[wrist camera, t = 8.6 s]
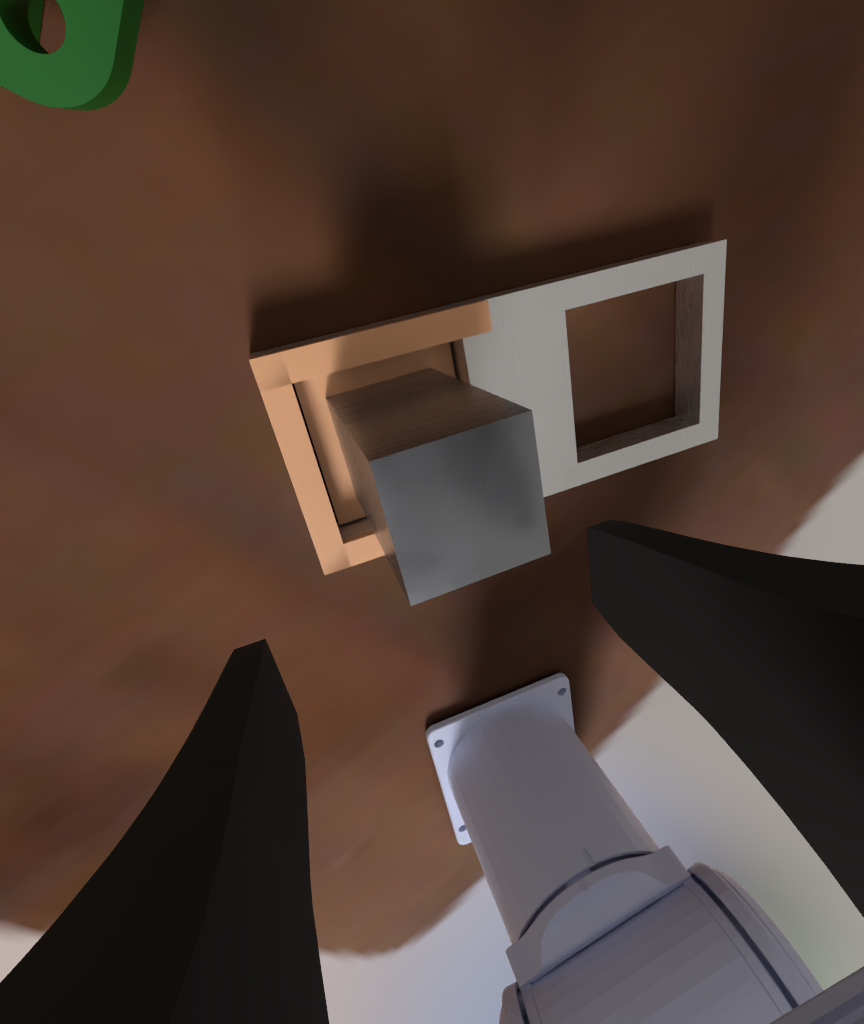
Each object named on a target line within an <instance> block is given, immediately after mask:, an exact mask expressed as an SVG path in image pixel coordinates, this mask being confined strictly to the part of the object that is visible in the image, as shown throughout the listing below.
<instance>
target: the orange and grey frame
mask: <svg viewBox="0 0 864 1024" xmlns="http://www.w3.org/2000/svg"><path fill="white" fill-rule="evenodd" d="M726 246H727V239H725V240H716V241H707V242H699V243H694V244H690V245H686V246H682V247H678V248H674V249H670V250H666V251H662V252H658V253H653V254H649V255H645V256H641V257H637V258H633V259H629V260H625V261H621V262H617V263H613V264H609V265H605V266H601V267H597V268H593V269H589V270H585V271H581V272H577V273H573V274H569V275H565V276H561V277H557V278H553V279H549V280H545V281H541V282H537V283H533V284H529V285H525V286H521V287H517V288H513V289H509V290H505V291H501V292H497V293H493V294H488V295H484V296H480V297H476V298H472V299H468V300H464V301H460V302H456V303H452V304H448V305H444V306H440V307H436V308H432V309H428V310H424V311H420V312H416V313H412V314H408V315H404V316H400V317H396V318H392V319H388V320H384V321H380V322H376V323H372V324H368V325H364V326H360V327H356V328H352V329H348V330H344V331H340V332H336V333H332V334H328V335H323V336H319V337H315V338H311V339H307V340H303V341H299V342H295V343H291V344H287V345H283V346H279V347H275V348H271V349H267V350H263V351H259V352H255V353H251V354H249V359H250V358H254V357H258V356H262V355H266V354H270V353H274V352H278V351H282V350H286V349H290V348H294V347H298V346H302V345H306V344H310V343H314V342H318V341H322V340H326V339H330V338H334V337H338V336H342V335H346V334H350V333H354V332H358V331H362V330H366V329H370V328H374V327H378V326H382V325H386V324H390V323H394V322H398V321H402V320H406V319H410V318H414V317H418V316H422V315H426V314H430V313H434V312H438V311H442V310H446V309H450V308H454V307H458V306H462V305H466V304H470V303H474V302H478V301H482V300H488V304H489V311H490V318H491V325H492V331H490V332H486V333H482V334H478V335H474V336H471V337H467V338H463V339H459V340H455V341H452V342H450V348H451V353H452V359H453V364H454V370H455V375H456V378H457V379H459V380H461V381H464V382H466V383H468V384H471V385H473V386H476V387H478V388H480V389H483V390H485V391H487V392H490V393H492V394H495V395H497V396H499V397H502V398H504V399H507V400H509V401H511V402H514V403H516V404H518V405H521V406H523V407H526V408H528V409H530V410H532V414H533V421H534V429H535V436H536V444H537V451H538V459H539V466H540V474H541V482H542V489H543V497H546V496H549V495H552V494H555V493H558V492H561V491H564V490H567V489H570V488H573V487H576V486H579V485H582V484H585V483H588V482H591V481H594V480H597V479H600V478H603V477H606V476H609V475H612V474H614V473H617V472H620V471H623V470H626V469H629V468H632V467H635V466H638V465H641V464H644V463H647V462H650V461H653V460H656V459H659V458H662V457H665V456H668V455H671V454H674V453H677V452H680V451H683V450H686V449H688V448H691V447H694V446H697V445H700V444H703V443H706V442H709V441H712V440H715V439H718V422H719V400H720V378H721V356H722V334H723V312H724V290H725V268H726ZM674 281H676V318H675V416H674V417H671V418H668V419H664V420H661V421H658V422H655V423H652V424H649V425H646V426H643V427H640V428H636V429H633V430H630V431H627V432H624V433H621V434H618V435H615V436H612V437H608V438H605V439H602V440H599V441H596V442H593V443H590V444H587V445H584V446H581V447H577V448H576V438H575V426H574V414H573V402H572V390H571V378H570V366H569V354H568V342H567V330H566V318H565V310H568V309H571V308H575V307H579V306H583V305H587V304H590V303H594V302H598V301H602V300H606V299H609V298H613V297H617V296H621V295H625V294H629V293H632V292H636V291H640V290H644V289H648V288H651V287H655V286H659V285H663V284H667V283H670V282H674ZM337 526H338V529H339V532H340V535H341V538H342V541H343V540H346V539H349V538H352V537H355V536H358V535H361V534H364V533H367V532H370V531H373V529H372V527H371V525H370V523H369V521H368V519H367V517H363V518H359V519H356V520H353V521H350V522H347V523H344V524H341V525H339V524H338V525H337Z"/></svg>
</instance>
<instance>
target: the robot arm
mask: <svg viewBox="0 0 864 1024" xmlns="http://www.w3.org/2000/svg"><path fill="white" fill-rule="evenodd" d="M587 534H588V549H589V564H590V578H591V593H592V603H593V604H594V605H595V607H596V608H597V609H598V611H599V612H600V613H601V615H602V616H603V617H604V618H605V620H606V621H607V622H608V623H609V625H610V626H611V627H612V628H613V630H614V631H615V632H616V633H617V634H618V636H619V637H620V638H621V639H622V640H623V641H624V642H625V643H626V644H627V645H628V646H629V647H631V648H632V649H633V650H634V651H635V652H636V653H637V654H638V655H639V656H640V657H641V658H642V659H643V660H644V661H645V662H646V663H647V664H648V665H649V666H650V667H651V668H652V669H654V670H655V671H656V672H657V673H658V674H659V675H660V676H661V677H662V678H663V679H664V680H665V681H666V682H667V683H668V684H670V685H671V686H672V687H673V688H674V689H675V690H676V691H677V692H678V693H679V694H680V695H681V696H682V697H683V698H684V699H685V700H686V701H687V702H689V703H690V704H691V705H692V706H693V707H694V708H695V709H696V710H697V711H698V712H699V713H700V714H701V715H702V716H703V717H704V718H705V719H706V720H707V722H709V724H711V726H712V727H713V728H714V729H715V730H716V731H717V732H718V734H719V735H720V736H721V737H722V738H723V739H724V740H725V742H726V743H727V744H728V745H729V746H730V747H731V749H732V750H733V751H734V752H735V753H736V754H737V755H738V757H739V758H740V759H741V760H742V761H743V762H744V763H745V765H746V766H747V767H748V768H749V769H750V771H751V772H752V773H753V774H754V775H755V777H756V778H757V779H758V780H759V782H760V783H761V784H762V785H763V786H764V788H765V789H766V790H767V791H768V793H769V794H770V795H771V796H772V797H773V799H774V800H775V801H776V802H777V803H778V805H779V806H780V807H781V808H782V810H783V811H784V812H785V813H786V814H787V816H788V817H789V818H790V820H791V821H792V822H793V824H794V825H795V826H796V828H797V829H798V830H799V831H800V833H801V834H802V835H803V836H804V838H805V839H806V840H807V842H808V843H809V844H810V846H811V847H812V848H813V849H814V851H815V852H816V853H817V855H818V856H819V857H820V858H821V860H822V861H823V862H824V864H825V865H826V866H827V868H828V869H829V870H830V872H831V873H832V875H833V876H834V877H835V879H836V880H837V881H838V883H839V884H840V886H841V887H842V888H843V890H844V891H845V892H846V894H847V895H848V897H849V898H850V899H851V901H852V902H853V903H854V905H855V906H856V907H857V909H858V910H859V912H860V913H861V914H862V916H863V917H864V565H856V564H846V563H835V562H827V561H819V560H811V559H803V558H796V557H788V556H782V555H776V554H770V553H764V552H759V551H754V550H748V549H743V548H738V547H733V546H728V545H723V544H719V543H714V542H710V541H705V540H701V539H697V538H692V537H688V536H684V535H680V534H675V533H671V532H667V531H663V530H659V529H655V528H650V527H646V526H642V525H637V524H632V523H628V522H622V521H615V520H609V521H606V522H603V523H600V524H597V525H595V526H592V527H589V528H587ZM426 738H427V741H428V745H429V748H430V751H431V755H432V758H433V762H434V765H435V768H436V772H437V775H438V778H439V782H440V785H441V788H442V792H443V795H444V799H445V802H446V805H447V809H448V812H449V815H450V819H451V822H452V826H453V829H454V832H455V836H456V839H457V841H458V843H459V844H461V845H465V844H468V843H470V842H472V844H473V846H474V849H475V851H476V854H477V856H478V859H479V862H480V864H481V867H482V869H483V872H484V874H485V877H486V879H487V882H488V884H489V887H490V889H491V892H492V894H493V897H494V899H495V902H496V904H497V907H498V909H499V912H500V914H501V917H502V920H503V922H504V924H505V927H506V929H507V932H508V935H509V937H510V940H511V942H512V945H511V946H510V947H509V948H507V950H506V954H507V957H508V959H509V961H510V964H511V967H512V970H513V972H514V975H515V978H516V980H517V982H515V983H513V984H511V985H509V986H508V987H506V988H505V989H504V991H503V995H502V1008H501V1014H500V1019H499V1024H864V967H862V968H860V969H859V970H857V971H856V972H854V973H852V974H851V975H849V976H847V977H846V978H844V979H842V980H841V981H839V982H837V983H836V984H834V985H832V986H831V987H829V988H827V989H826V990H824V991H823V989H822V988H821V986H820V985H819V983H818V982H817V981H816V979H815V978H814V976H813V974H812V973H811V972H810V970H809V969H808V967H807V966H806V964H805V963H804V962H803V960H802V959H801V957H800V956H799V955H798V954H797V952H796V951H795V949H794V948H793V947H792V946H791V944H790V943H789V941H788V940H787V939H786V938H785V936H784V935H783V934H782V932H781V931H780V930H779V929H778V928H777V926H776V925H775V924H774V922H773V921H772V920H771V919H770V918H769V916H768V915H767V914H766V913H765V912H764V910H763V909H762V908H761V907H760V906H759V905H758V904H757V902H756V901H755V900H754V899H753V898H752V897H751V896H750V895H749V894H748V893H747V892H746V891H745V890H744V889H743V888H742V887H741V886H740V885H739V884H738V883H737V882H736V881H735V880H734V879H733V878H731V877H730V876H729V875H727V874H726V873H724V872H722V871H719V870H716V869H713V868H710V867H709V866H707V865H706V864H703V863H699V862H698V863H695V864H694V865H692V866H691V867H690V868H689V869H687V870H686V868H685V867H684V866H683V864H682V863H681V862H680V860H679V859H678V858H677V856H676V855H675V854H674V852H673V851H672V850H671V848H670V847H669V846H665V847H663V848H661V849H659V847H658V846H657V845H656V843H655V842H654V841H653V839H652V838H651V837H650V835H649V834H648V832H647V831H646V830H645V828H644V827H643V826H642V824H641V823H640V821H639V820H638V819H637V817H636V816H635V815H634V813H633V812H632V810H631V809H630V808H629V806H628V805H627V804H626V802H625V801H624V799H623V798H622V797H621V795H620V794H619V793H618V791H617V790H616V789H615V787H614V786H613V785H612V783H611V782H610V780H609V779H608V778H607V776H606V775H605V773H604V772H603V771H602V769H601V768H600V767H599V765H598V764H597V763H596V761H595V760H594V758H593V757H592V756H591V754H590V753H589V751H588V750H587V749H586V747H585V746H584V745H583V743H582V742H581V741H580V739H579V738H578V736H577V735H576V734H575V729H574V720H573V712H572V703H571V694H570V685H569V680H568V678H567V677H566V675H565V674H563V673H558V674H555V675H552V676H550V677H548V678H545V679H543V680H540V681H538V682H535V683H533V684H531V685H528V686H526V687H523V688H521V689H518V690H516V691H514V692H511V693H509V694H506V695H504V696H501V697H499V698H497V699H494V700H492V701H489V702H487V703H485V704H482V705H480V706H477V707H475V708H472V709H470V710H468V711H465V712H463V713H460V714H458V715H455V716H453V717H451V718H448V719H446V720H443V721H441V722H438V723H436V724H434V725H432V726H430V727H429V728H428V729H427V731H426ZM437 740H439V741H437ZM436 741H437V742H436ZM0 1024H329V1019H328V1012H327V1005H326V999H325V992H324V985H323V978H322V972H321V965H320V957H319V950H318V943H317V935H316V928H315V921H314V914H313V906H312V894H311V882H310V862H309V838H308V815H307V792H306V771H305V758H304V752H303V746H302V739H301V734H300V728H299V722H298V717H297V712H296V710H295V708H294V705H293V703H292V701H291V698H290V696H289V694H288V691H287V689H286V686H285V684H284V682H283V679H282V677H281V675H280V672H279V670H278V668H277V665H276V663H275V660H274V658H273V656H272V653H271V651H270V649H269V646H268V644H267V642H266V639H264V640H261V641H258V642H255V643H252V644H249V645H246V646H243V647H240V648H237V649H235V650H234V651H233V653H232V654H231V656H230V658H229V660H228V662H227V664H226V666H225V668H224V670H223V672H222V674H221V676H220V678H219V680H218V682H217V684H216V686H215V688H214V690H213V691H212V693H211V695H210V697H209V699H208V701H207V703H206V705H205V707H204V709H203V711H202V712H201V714H200V716H199V718H198V720H197V722H196V724H195V725H194V727H193V729H192V731H191V733H190V735H189V736H188V738H187V740H186V742H185V743H184V745H183V747H182V748H181V750H180V752H179V753H178V755H177V757H176V758H175V760H174V762H173V763H172V765H171V767H170V768H169V770H168V771H167V773H166V775H165V776H164V778H163V780H162V781H161V783H160V785H159V786H158V788H157V789H156V791H155V792H154V794H153V795H152V797H151V798H150V800H149V801H148V803H147V804H146V806H145V807H144V808H143V810H142V811H141V813H140V814H139V815H138V817H137V818H136V820H135V821H134V822H133V824H132V825H131V827H130V828H129V829H128V831H127V832H126V833H125V835H124V836H123V838H122V839H121V840H120V842H119V843H118V844H117V846H116V847H115V848H114V850H113V851H112V852H111V854H110V855H109V856H108V857H107V859H106V860H105V861H104V862H103V864H102V865H101V866H100V867H99V868H98V870H97V871H96V872H95V873H94V875H93V876H92V877H91V878H90V880H89V881H88V882H87V883H86V884H85V886H84V887H83V888H82V889H81V891H80V892H79V893H78V894H77V896H76V897H75V898H74V899H73V900H72V902H71V903H70V904H69V905H68V907H67V908H66V909H65V910H64V912H63V913H62V914H61V915H60V916H59V918H58V919H57V920H56V921H55V922H54V923H53V925H52V926H51V927H50V928H49V929H48V930H47V932H46V933H45V934H44V935H43V936H42V937H41V938H40V939H39V941H38V942H37V943H36V944H35V945H34V946H33V947H32V949H31V950H30V951H29V952H28V953H27V954H26V955H25V957H24V958H23V959H22V960H21V961H20V962H19V963H18V964H17V965H16V966H15V967H14V969H13V970H12V971H11V972H10V973H9V974H8V975H7V976H6V977H5V978H4V979H3V981H2V982H1V983H0Z"/></svg>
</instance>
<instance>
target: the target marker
mask: <svg viewBox="0 0 864 1024" xmlns="http://www.w3.org/2000/svg"><path fill="white" fill-rule="evenodd" d="M490 331H492V325H491V318H490V311H489V304H488V300H482V301H478V302H474V303H470V304H466V305H462V306H458V307H454V308H450V309H446V310H442V311H438V312H434V313H430V314H426V315H422V316H418V317H414V318H410V319H406V320H402V321H398V322H394V323H390V324H386V325H382V326H378V327H374V328H370V329H366V330H362V331H358V332H354V333H350V334H346V335H342V336H338V337H334V338H330V339H326V340H322V341H318V342H314V343H310V344H306V345H302V346H298V347H294V348H290V349H286V350H282V351H278V352H274V353H270V354H266V355H262V356H258V357H254V358H250V359H249V361H250V364H251V367H252V370H253V373H254V375H255V378H256V381H257V384H258V387H259V390H260V392H261V395H262V398H263V401H264V404H265V407H266V410H267V412H268V415H269V418H270V421H271V424H272V427H273V429H274V432H275V435H276V438H277V441H278V444H279V447H280V449H281V452H282V455H283V458H284V461H285V464H286V466H287V469H288V472H289V475H290V478H291V481H292V483H293V486H294V489H295V492H296V495H297V498H298V501H299V503H300V506H301V509H302V512H303V515H304V518H305V520H306V523H307V526H308V529H309V532H310V535H311V538H312V540H313V543H314V546H315V549H316V552H317V555H318V557H319V560H320V563H321V566H322V569H323V572H324V575H328V574H331V573H334V572H336V571H339V570H342V569H345V568H348V567H351V566H354V565H357V564H360V563H363V562H366V561H369V560H372V559H375V558H378V557H381V556H384V555H385V553H384V551H383V549H382V547H381V545H380V543H379V541H378V539H377V537H376V535H375V533H374V531H370V532H367V533H364V534H361V535H358V536H355V537H352V538H349V539H346V540H343V541H342V538H341V535H340V532H339V529H338V526H337V523H336V520H335V517H334V514H333V510H332V507H331V504H330V501H329V498H328V495H327V492H326V489H325V486H324V482H323V479H322V476H321V473H320V470H319V467H318V464H317V461H316V458H315V455H314V451H313V448H312V445H311V442H310V439H309V436H308V433H307V430H306V427H305V424H304V420H303V417H302V414H301V411H300V408H299V405H298V402H297V399H296V396H295V392H294V389H293V386H292V383H294V385H295V388H296V392H297V395H298V398H299V401H300V404H301V407H302V410H303V413H304V416H305V420H306V423H307V426H308V429H309V432H310V435H311V438H312V441H313V445H314V448H315V451H316V454H317V457H318V460H319V463H320V466H321V470H322V473H323V476H324V479H325V482H326V485H327V488H328V491H329V495H330V498H331V501H332V504H333V507H334V510H335V513H336V516H337V520H338V523H339V525H341V524H344V523H347V522H350V521H353V520H356V519H359V518H363V517H366V515H365V513H364V511H363V509H362V507H361V505H360V503H359V501H358V499H357V497H356V494H355V491H354V488H353V485H352V481H351V478H350V475H349V472H348V469H347V465H346V462H345V459H344V456H343V453H342V449H341V446H340V443H339V440H338V437H337V433H336V430H335V427H334V424H333V421H332V417H331V414H330V411H329V408H328V405H327V401H326V398H325V397H329V396H332V395H336V394H339V393H343V392H346V391H350V390H353V389H357V388H360V387H364V386H367V385H371V384H374V383H378V382H381V381H385V380H388V379H392V378H395V377H398V376H402V375H405V374H409V373H412V372H416V371H419V370H423V369H426V368H433V369H435V370H437V371H440V372H442V373H445V374H447V375H449V376H452V377H454V378H456V376H455V370H454V365H453V359H452V353H451V348H450V342H452V341H455V340H459V339H463V338H467V337H471V336H474V335H478V334H482V333H486V332H490Z"/></svg>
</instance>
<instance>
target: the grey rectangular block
mask: <svg viewBox="0 0 864 1024" xmlns="http://www.w3.org/2000/svg"><path fill="white" fill-rule="evenodd" d="M325 398H326V401H327V405H328V408H329V411H330V414H331V417H332V421H333V424H334V427H335V430H336V433H337V437H338V440H339V443H340V446H341V449H342V453H343V456H344V459H345V462H346V465H347V469H348V472H349V475H350V478H351V481H352V485H353V488H354V491H355V494H356V497H357V499H358V501H359V503H360V505H361V507H362V509H363V511H364V513H365V515H366V517H367V519H368V521H369V523H370V525H371V527H372V529H373V531H374V533H375V535H376V537H377V539H378V541H379V543H380V545H381V547H382V549H383V551H384V553H385V555H386V557H387V559H388V561H389V563H390V565H391V567H392V569H393V571H394V573H395V575H396V577H397V579H398V581H399V583H400V585H401V587H402V589H403V591H404V593H405V595H406V597H407V599H408V601H409V603H410V605H411V606H413V605H415V604H418V603H421V602H423V601H426V600H429V599H431V598H434V597H437V596H439V595H442V594H445V593H447V592H450V591H453V590H455V589H458V588H461V587H463V586H466V585H469V584H471V583H474V582H477V581H479V580H482V579H485V578H487V577H490V576H493V575H495V574H498V573H501V572H503V571H506V570H509V569H511V568H514V567H517V566H519V565H522V564H525V563H527V562H530V561H532V560H535V559H538V558H540V557H543V556H546V555H548V554H551V550H550V542H549V534H548V527H547V519H546V512H545V504H544V497H543V489H542V482H541V474H540V466H539V459H538V451H537V444H536V436H535V429H534V421H533V414H532V410H530V409H528V408H526V407H523V406H521V405H518V404H516V403H514V402H511V401H509V400H507V399H504V398H502V397H499V396H497V395H495V394H492V393H490V392H487V391H485V390H483V389H480V388H478V387H476V386H473V385H471V384H468V383H466V382H464V381H461V380H459V379H457V378H454V377H452V376H449V375H447V374H445V373H442V372H440V371H437V370H435V369H433V368H426V369H423V370H419V371H416V372H412V373H409V374H405V375H402V376H398V377H395V378H392V379H388V380H385V381H381V382H378V383H374V384H371V385H367V386H364V387H360V388H357V389H353V390H350V391H346V392H343V393H339V394H336V395H332V396H329V397H325Z"/></svg>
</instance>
